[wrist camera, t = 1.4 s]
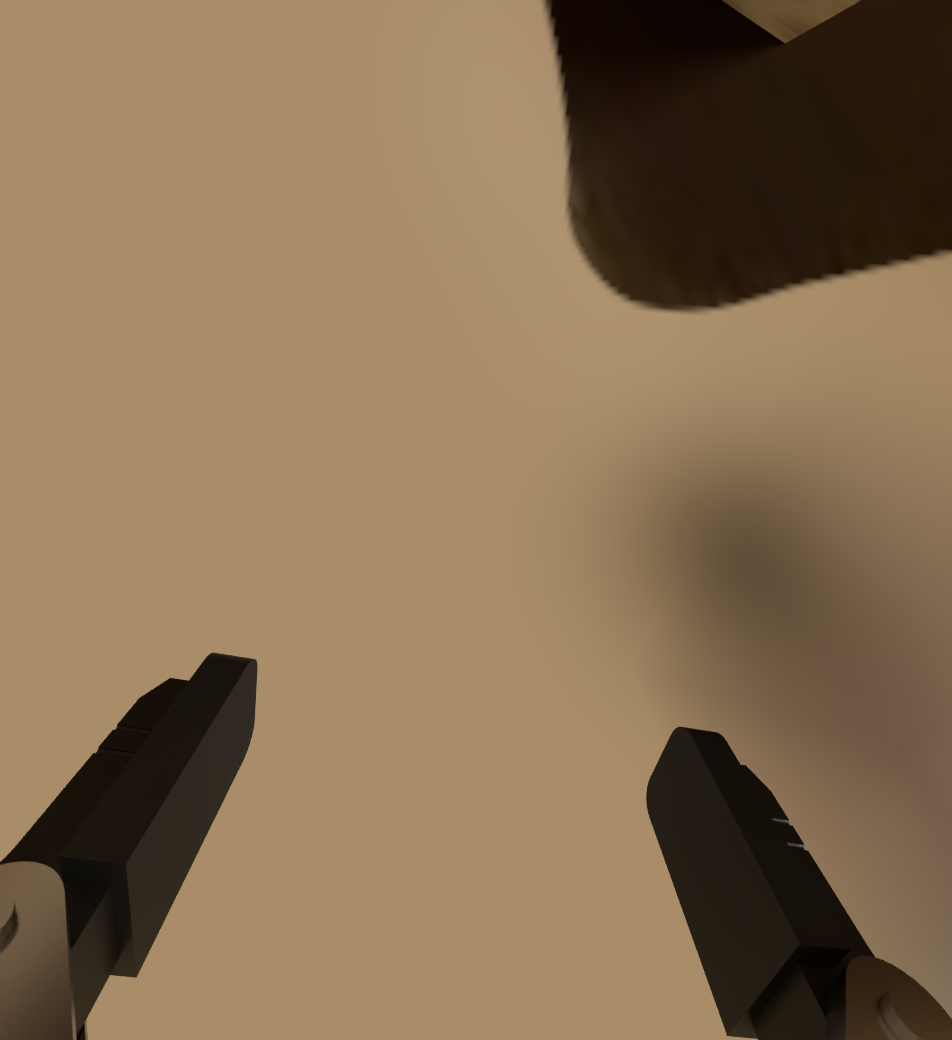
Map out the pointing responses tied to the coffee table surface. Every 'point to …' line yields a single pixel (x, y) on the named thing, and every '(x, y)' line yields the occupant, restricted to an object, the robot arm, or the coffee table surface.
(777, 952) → the robot arm
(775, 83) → the coffee table surface
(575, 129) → the coffee table surface
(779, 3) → the stand
